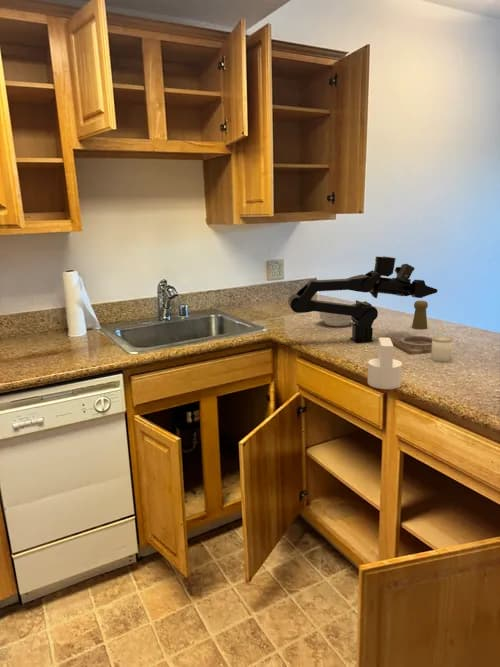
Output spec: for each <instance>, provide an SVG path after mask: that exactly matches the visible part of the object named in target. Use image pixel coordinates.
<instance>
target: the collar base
mask: <svg viewBox="0 0 500 667" xmlns="http://www.w3.org/2000/svg"><path fill="white" fill-rule="evenodd" d="M391 342H392V344H393V347H396V348H397V349H399V350H400V351H403V352H404V353H406V354H408V355H419V354H421V355H422V354H431V351H432V337H430V336H426V335H425V336H423V335H406V336H403V337H400V338H399V339H398V340H391Z"/></svg>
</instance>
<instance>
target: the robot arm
mask: <svg viewBox="0 0 500 667" xmlns="http://www.w3.org/2000/svg"><path fill="white" fill-rule="evenodd" d="M396 259H397V258H396V257H391V256H385V255H383V256H375V263H374V269H372V270H370V271H368V272H367V273H365V274H358V275H357V274H356V275H354V276H351V277H348V278H336V279H334V278H333V279H311V280H308V282H307V283H306V284H304V286H303V287H301V288H300V289H299V290H298V291H297V292H296V293H294V294H292V295H290V297H289V298H288V300H287V304H288V307H289V308H290V309H291V310H292V311H293V312H294V313H298V314H302V313H310V312H325V313H333V314H340V315H348V316H352V317H351V318H352V320H351V322H352V324H351V325H352V326H351V336H350V337H349V340H352V341H353V342H355V343H357V344H359V343H372V342H374V340H373V330H374V328H373V327H372V326H373V324H374V322H375V320H376V319H377V318H378V316H379V311H378V309H377V307H375V306H373V305H372V304H371V303H369V302H368V301H361V300H357V299H356V300H355V303H353V304H352V305H349V304H350V303H347V304H342V303H343V302H333V301H324V300H317V299H316V300H315V299H313V297H314V296H315V295H316V293H317V292H331V291H352V292H359V293H369V294H370V295H371V296H372V297H373V298H374V299H377V298H378V295H379V294H384V295H385V294H386V295H395V296H397V297H398V296H400V297H409V296H411V297H412V298H418V299H423V298H425V297H427V296H431V295H433V294H436V293H438V290H439V289H437V288H434V287H432V286H429V285H426V281H425V280H423V279H414V280H413V281H412V279H410V278H411V275H412V274H413V272H414V270H415V269H416V268H415V267H414V266H412V265H411V264H408V263H403V264H401V265H400V266H396V267H395V263H396ZM394 272H395V274H396V277H392V278H391V277H390V276H392V275H393V274H394Z"/></svg>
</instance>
